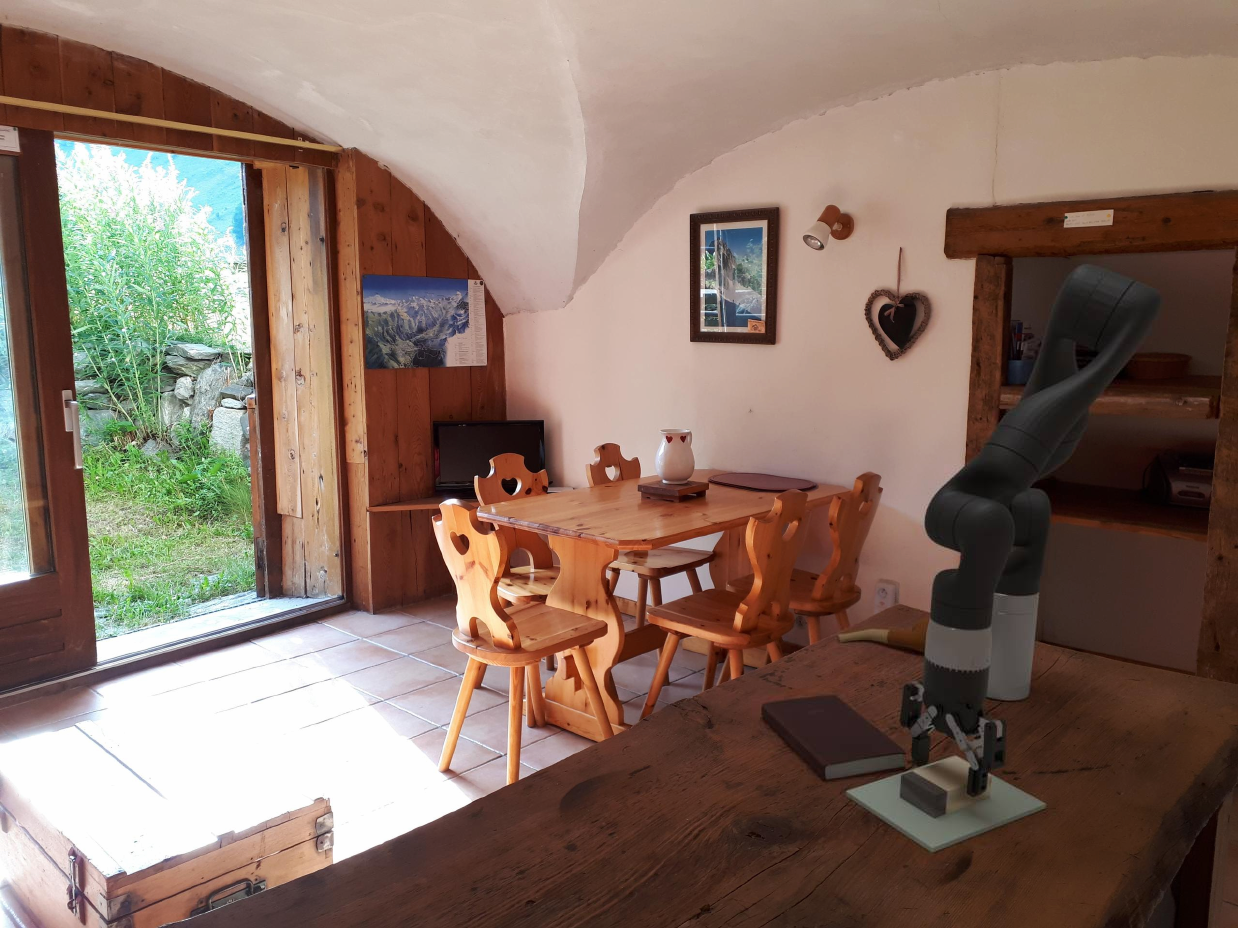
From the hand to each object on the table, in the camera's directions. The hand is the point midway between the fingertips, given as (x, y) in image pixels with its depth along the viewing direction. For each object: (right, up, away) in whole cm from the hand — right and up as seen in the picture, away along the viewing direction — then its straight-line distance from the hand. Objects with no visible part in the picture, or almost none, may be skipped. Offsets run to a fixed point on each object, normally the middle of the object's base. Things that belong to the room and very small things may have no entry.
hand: (946, 778), depth 117 cm
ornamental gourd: (+9, +6, +52) cm, 53 cm away
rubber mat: (0, -3, +1) cm, 3 cm away
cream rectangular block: (0, -2, 0) cm, 3 cm away
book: (-11, -1, +16) cm, 19 cm away
